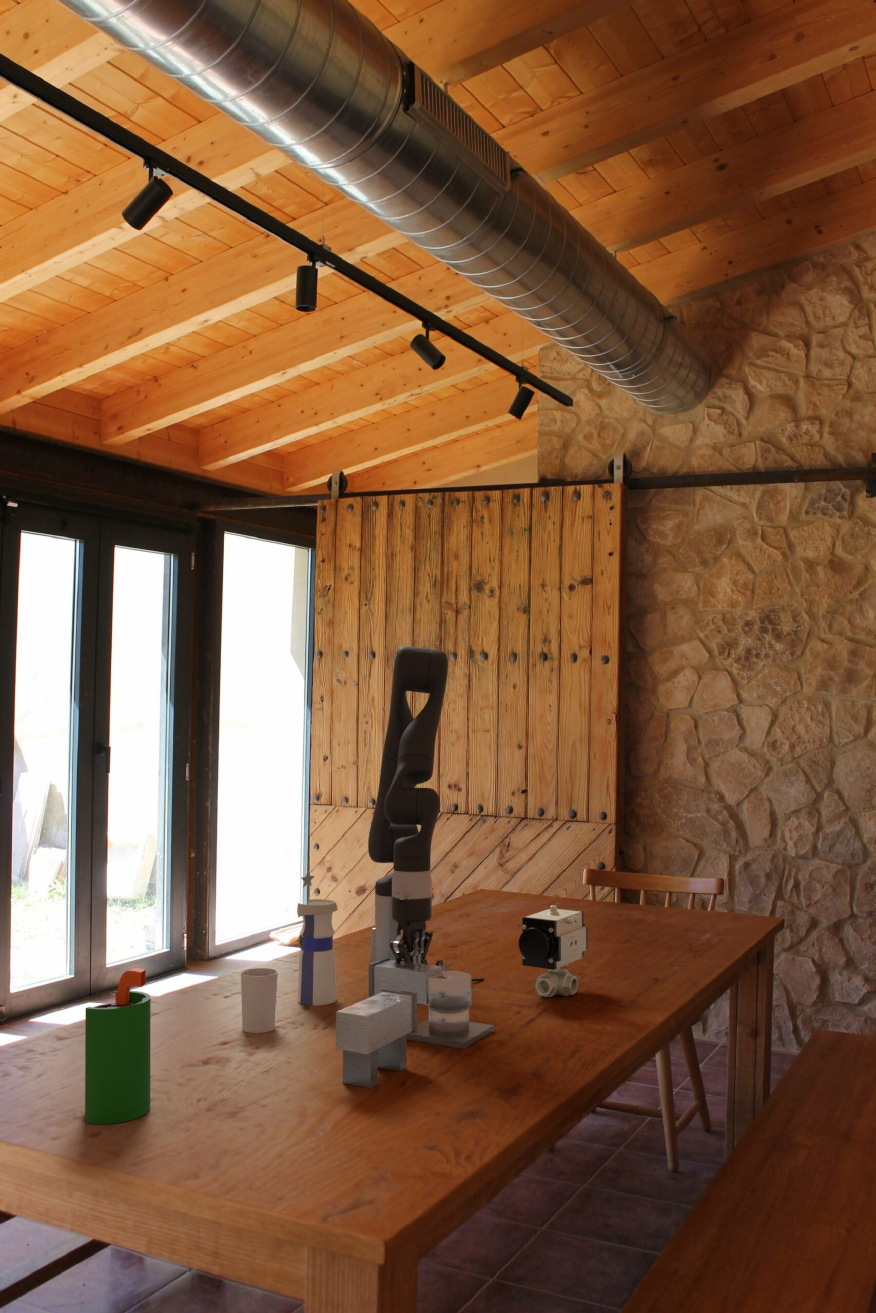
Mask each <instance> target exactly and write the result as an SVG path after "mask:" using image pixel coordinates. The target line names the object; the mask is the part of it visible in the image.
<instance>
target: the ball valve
mask: <svg viewBox="0 0 876 1313" xmlns="http://www.w3.org/2000/svg"><path fill="white" fill-rule="evenodd" d="M584 914H585V913H584V910H578V909H577V910H576V909H566V908H561V907H558V906H557V905H555V904H554V905H553V904H552V905H550V907H549V909H548V908H547V909H544V910H543V911H539V912H536V913H532V914H529V915H526V916H523V917H522V918H521V919H522V920H521V921H522V923H521V925H522V926H521V928H522V929H521V931H522V933H521V934H520V936H519V939H518V948H519V952H520V954H521V955H522V956H521V958H522V962H521V963H522V966H524V967H532V968H538V969H539V968H540V969H545V970H548V971H546V972H544V973H542V974H540V975H539V976H538V977H537V978H536V982H535V984H534V987H535V990H536V991H537V994H538V995H539V996H543V997H544V998H551V997H553V996H555V995H557V996H563V997H568V996H572V995H574V994H576V992H577V991H578V986H579V982H578V977H577V976H576V975H573V974H571V973H570V972H569V970H568V969H565V968H562V967H568V966H569V964H571V963H573V962H576V961H578V960H581V959H582V958H584V957H585V955H584V953H585V951H588V950H589V944H588V943H589V927H588V925H586V923H585V921H584V918H585V917H584Z"/></svg>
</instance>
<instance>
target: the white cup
mask: <svg viewBox="0 0 876 1313" xmlns="http://www.w3.org/2000/svg"><path fill="white" fill-rule="evenodd" d="M278 973H279V972H278V970H277V969H275V968H270V967H256V968H255V967H254V968H247V969H243V970H242V971H241V972H240V988H241V989H240V990H241V991H240V992H241V1015H242V1016H241V1019H242V1020H241V1023H242V1024H241V1026H242V1031H243V1032H246V1033H251V1034H252V1033H253V1034H260V1033H261V1034H262V1033H268V1032H272V1031H273V1030H275V1026H276V1024H275V1023H276V1006H277V1005H276V1004H277V991H278Z"/></svg>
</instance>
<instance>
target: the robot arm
mask: <svg viewBox="0 0 876 1313" xmlns="http://www.w3.org/2000/svg"><path fill="white" fill-rule="evenodd" d="M448 672H449V659H448V655H447V653H446V652H445V651H443V650H439V649H433V648H428V647H427V648H426V647H418V646H410V645H403V646H400V647H399V648H398V649H397V652H396V655H395V658H394V664H393V669H392V679H391V680H392V682H391V695H390V704H389V705H390V706H389V713H388V714H389V716H388V721H387V729H386V733H385V739H384V743H383V748H382V756H381V762H380V763H381V765H380V773H379V775H380V776H379V782H378V789H377V796H376V801H375V805H374V810H373V814H372V818H371V823H370V827H369V832H368V840H367V841H368V842H367V843H368V844H367V845H368V846H367V849H368V855H369V858H370V860H371V861H372V862H374V863H378V864H393V871H392V872H391V873H389V874H388V875H385V876H383V877H381V878H379V879H377V880H376V882H375V885H374V927H373V928H371V930H370V963H373V962H375V961H378V960H381V959H383V958H386V957H388V958H390V960H395V961H403V962H411V963H419V964H421V961H425V959H426V958H427V954H428V952H429V948H430V945H431V942H432V939H433V936H434V934H433V932H432V931H428V930H427V921H429V920H430V921H431V919H432V914H433V911H432V909H433V908H432V907H433V905H432V904H433V902H432V901H433V887H432V883H433V882H432V881H433V880H432V873H431V852H432V851H431V850H432V842H433V841H432V840H433V835H434V831H435V827H436V824H437V821H438V818H439V813H440V811H441V810H440V809H441V800H440V795H439V794H438V793H437V791H436V790H435V789H433V788H431V787H417V786H418V785H421V784H425V783H427V782H428V781H430V780H431V778H432V777H433V774H434V767H435V766H434V765H435V749H436V748H435V747H436V738H437V732H438V728H439V724H440V720H441V714H442V711H443V710H442V709H443V704H444V699H445V694H446V693H445V692H446V686H447V680H448V674H449V673H448ZM407 692H414V693H421V694H427V695H428V694H429V695H428V698H427V701H426V703H425V705H424V706H423V708H422V709H421V710H420V711H419V713H418V714H417V715H416V716H415V717H414V715H413V713H412V711H411V708H410V706H409V702H408V697H407ZM418 826H420V830H419V827H418Z"/></svg>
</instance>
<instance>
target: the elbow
mask: <svg viewBox="0 0 876 1313" xmlns="http://www.w3.org/2000/svg"><path fill="white" fill-rule="evenodd" d="M427 964H428V963H427ZM427 964H419V963H411V962H403V961H395V960H390V958H388V957H386V958H383V959H381V960H378V961H375V962H373V963H371V962H370V963H368V998H370V997H372V996H374V995H377V994H379V993H381V992H382V989H384V988H385V989H392V990H399V991H406V992H413V993H417V1005H418V1004H419V1005H425V1006H427V1007H428V1008H429V1007H430V1008H432V1009H437V1010H462V1009H466V1008H469V1009H470V1007H471V1006H472V982H471V979H472V974H470V973H468V972H466V971H461V970H449V971H441V966H435V965H436V964H435V965H434V964H428V965H427Z"/></svg>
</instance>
